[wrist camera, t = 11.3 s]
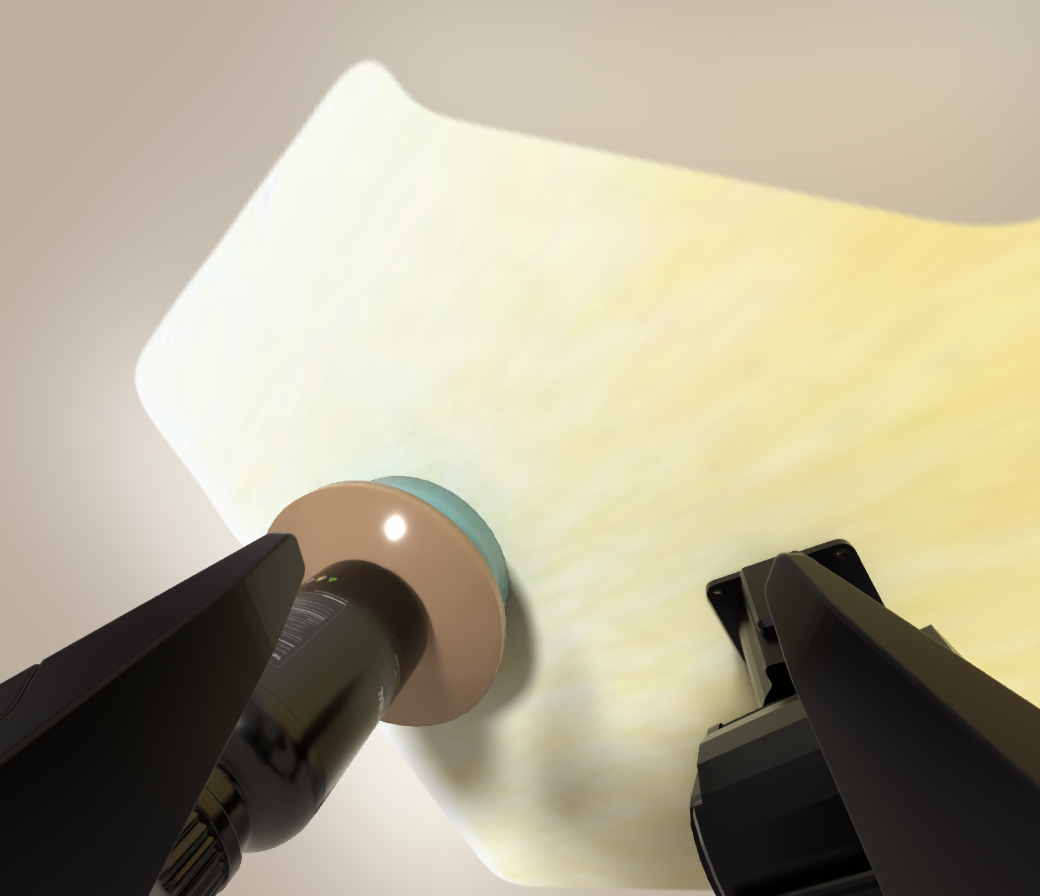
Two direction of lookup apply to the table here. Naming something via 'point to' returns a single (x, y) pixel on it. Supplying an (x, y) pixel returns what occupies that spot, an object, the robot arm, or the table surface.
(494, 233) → the table surface
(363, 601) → the supplement bottle
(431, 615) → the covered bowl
